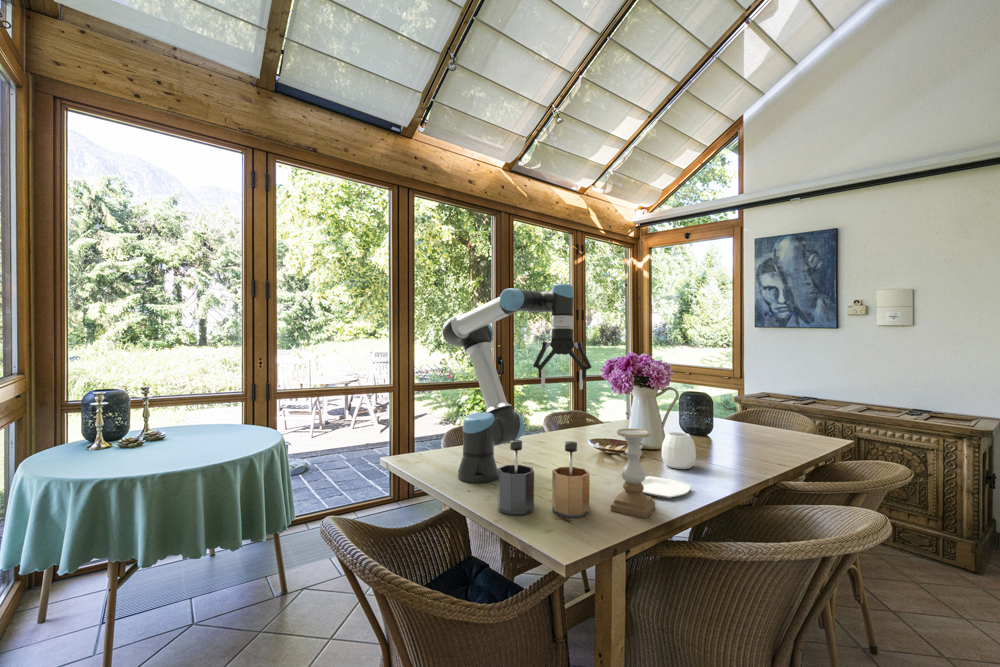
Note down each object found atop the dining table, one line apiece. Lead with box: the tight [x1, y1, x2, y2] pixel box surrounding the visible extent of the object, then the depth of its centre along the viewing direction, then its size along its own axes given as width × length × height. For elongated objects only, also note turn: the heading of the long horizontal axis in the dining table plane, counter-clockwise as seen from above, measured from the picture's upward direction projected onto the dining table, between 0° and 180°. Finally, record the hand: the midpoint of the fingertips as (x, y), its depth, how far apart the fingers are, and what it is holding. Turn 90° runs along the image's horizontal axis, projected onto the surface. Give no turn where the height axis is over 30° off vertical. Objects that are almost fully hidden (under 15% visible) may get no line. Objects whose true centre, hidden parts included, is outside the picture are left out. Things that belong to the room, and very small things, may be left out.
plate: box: [641, 475, 692, 499], centre depth 161 cm, size 19×19×2 cm
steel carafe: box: [497, 464, 535, 517], centre depth 143 cm, size 11×14×12 cm
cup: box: [661, 431, 697, 470], centre depth 190 cm, size 13×13×14 cm
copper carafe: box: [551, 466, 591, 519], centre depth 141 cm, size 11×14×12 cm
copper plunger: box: [564, 440, 578, 476], centre depth 140 cm, size 8×8×19 cm
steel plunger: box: [509, 439, 523, 474], centre depth 142 cm, size 8×8×19 cm
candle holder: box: [610, 428, 656, 519], centre depth 143 cm, size 11×11×24 cm
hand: (561, 388), depth 163 cm, fingers open, 13 cm apart
